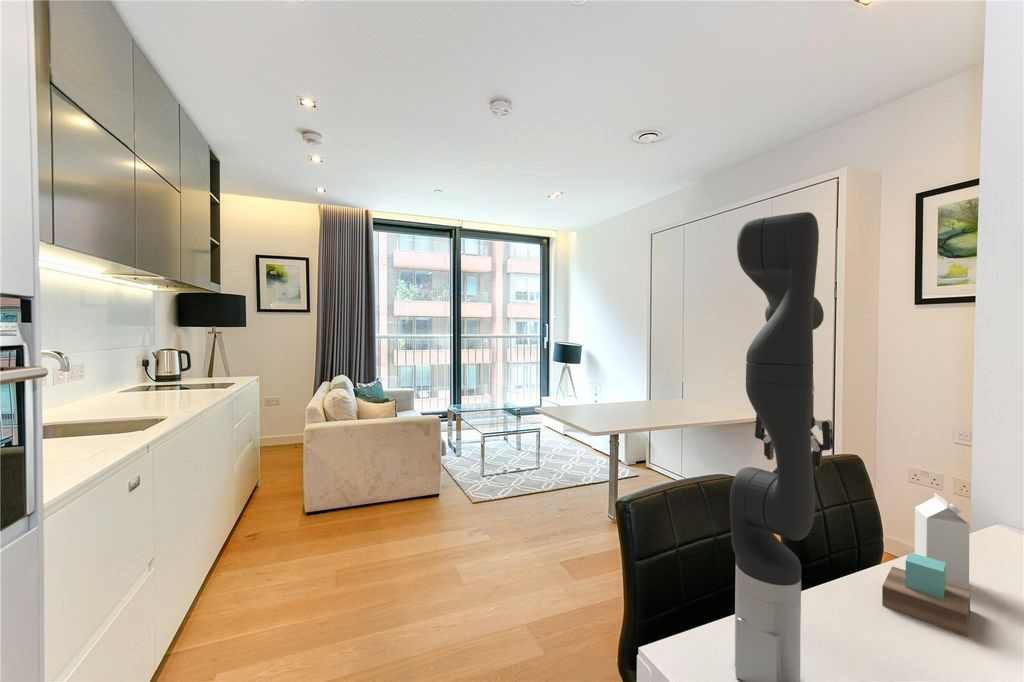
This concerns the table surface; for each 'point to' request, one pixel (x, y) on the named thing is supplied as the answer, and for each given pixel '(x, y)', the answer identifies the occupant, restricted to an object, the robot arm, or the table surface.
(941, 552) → the milk carton
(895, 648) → the table surface
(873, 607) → the table surface
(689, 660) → the table surface
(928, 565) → the teal cube
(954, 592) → the walnut base
